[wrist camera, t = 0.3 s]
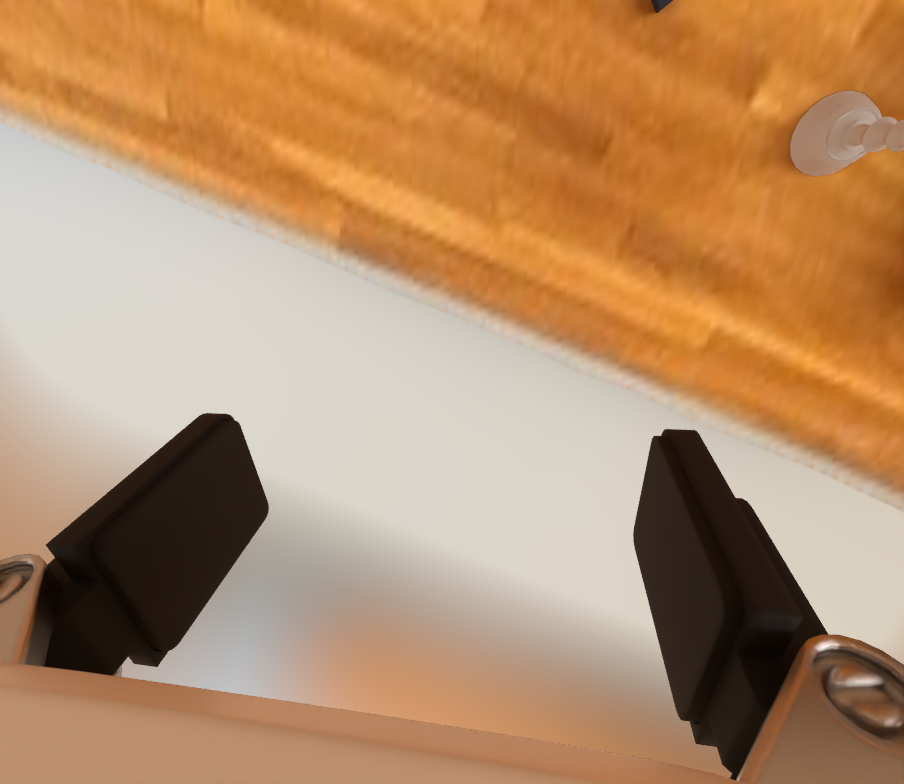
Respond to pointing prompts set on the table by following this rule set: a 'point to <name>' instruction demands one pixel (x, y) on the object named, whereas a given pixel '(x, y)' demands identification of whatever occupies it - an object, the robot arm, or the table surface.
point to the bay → (660, 4)
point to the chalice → (842, 133)
